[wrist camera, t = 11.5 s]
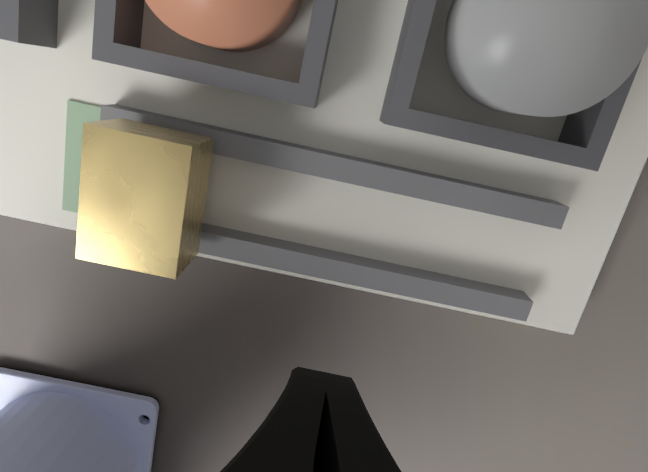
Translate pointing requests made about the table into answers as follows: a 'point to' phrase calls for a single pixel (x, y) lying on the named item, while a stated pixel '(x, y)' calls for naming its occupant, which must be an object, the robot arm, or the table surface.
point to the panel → (334, 151)
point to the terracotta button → (227, 21)
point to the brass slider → (141, 196)
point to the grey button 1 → (544, 51)
